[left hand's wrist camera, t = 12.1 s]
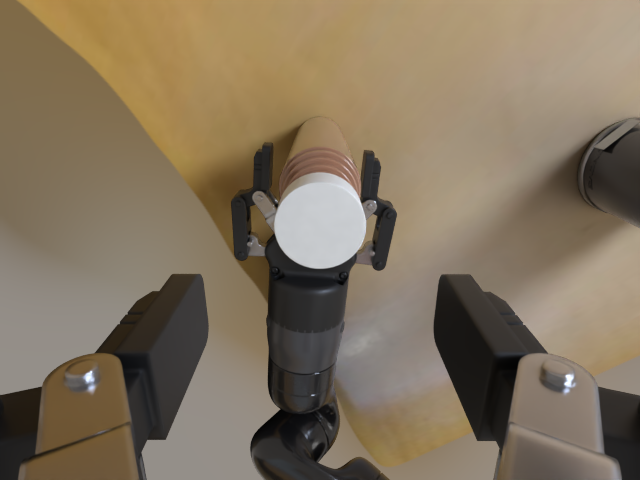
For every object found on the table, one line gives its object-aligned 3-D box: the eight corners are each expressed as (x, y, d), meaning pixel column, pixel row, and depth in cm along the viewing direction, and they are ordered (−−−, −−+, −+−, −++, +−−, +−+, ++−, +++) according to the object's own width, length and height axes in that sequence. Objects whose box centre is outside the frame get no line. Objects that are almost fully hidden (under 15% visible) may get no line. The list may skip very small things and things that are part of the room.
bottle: (351, 153, 40) (390, 248, 18) (308, 173, 41) (295, 288, 19) (331, 108, 39) (347, 151, 17) (287, 129, 39) (245, 199, 17)
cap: (374, 232, 19) (380, 247, 18) (300, 263, 20) (299, 282, 18) (341, 157, 18) (343, 166, 16) (263, 193, 19) (257, 206, 17)
